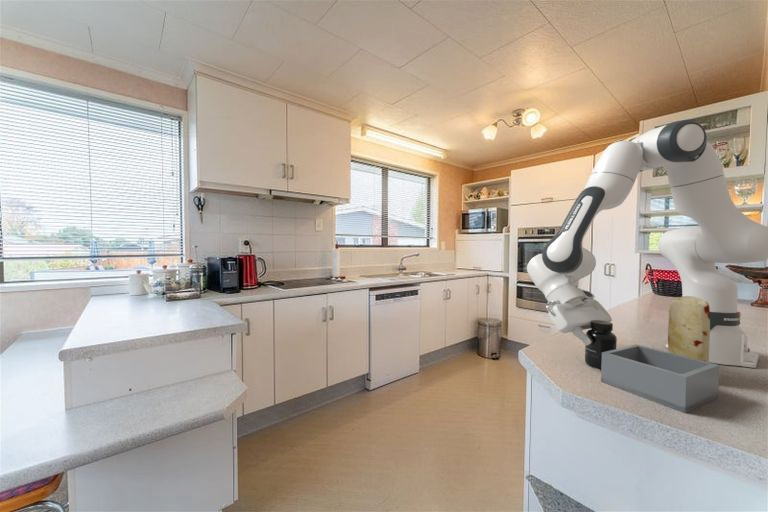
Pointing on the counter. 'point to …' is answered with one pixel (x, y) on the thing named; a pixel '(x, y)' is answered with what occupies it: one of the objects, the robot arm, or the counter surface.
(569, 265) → the robot arm
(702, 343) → the food model
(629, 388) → the bin
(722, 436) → the counter surface
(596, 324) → the supplement bottle
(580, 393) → the counter surface
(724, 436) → the counter surface
